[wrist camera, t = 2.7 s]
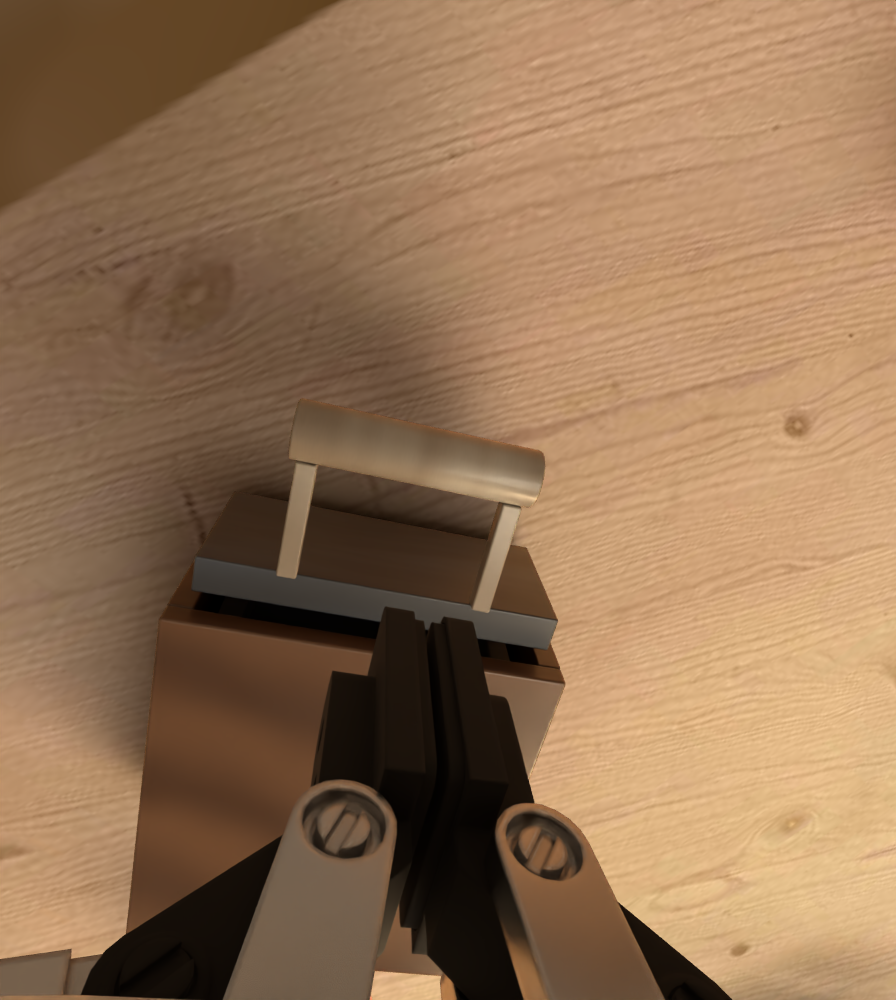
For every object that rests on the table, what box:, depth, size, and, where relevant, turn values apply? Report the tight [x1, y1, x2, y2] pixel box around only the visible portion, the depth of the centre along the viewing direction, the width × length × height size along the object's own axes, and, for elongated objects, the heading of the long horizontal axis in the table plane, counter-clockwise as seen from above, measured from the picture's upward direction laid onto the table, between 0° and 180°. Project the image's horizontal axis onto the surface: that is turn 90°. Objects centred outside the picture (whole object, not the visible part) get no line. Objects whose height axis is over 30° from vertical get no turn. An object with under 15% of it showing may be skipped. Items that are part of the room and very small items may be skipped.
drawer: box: [191, 398, 558, 661], centre depth 23 cm, size 19×11×6 cm, turn 166°
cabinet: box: [126, 561, 565, 976], centre depth 26 cm, size 15×13×7 cm
